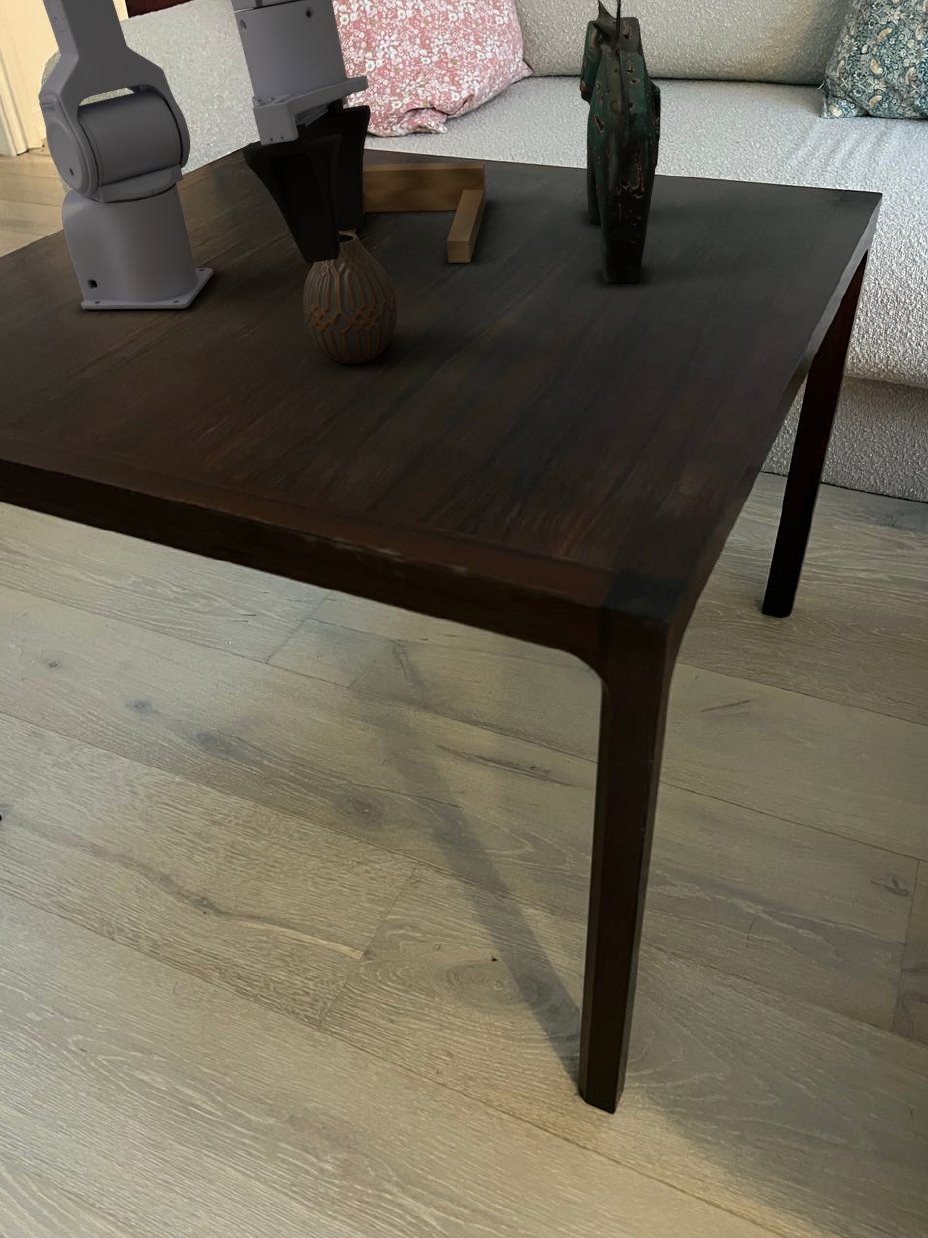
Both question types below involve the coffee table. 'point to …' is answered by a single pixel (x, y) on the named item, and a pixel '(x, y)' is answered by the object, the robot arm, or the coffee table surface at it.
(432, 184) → the rack
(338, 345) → the vase
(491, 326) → the coffee table surface
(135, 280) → the robot arm
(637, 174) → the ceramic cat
